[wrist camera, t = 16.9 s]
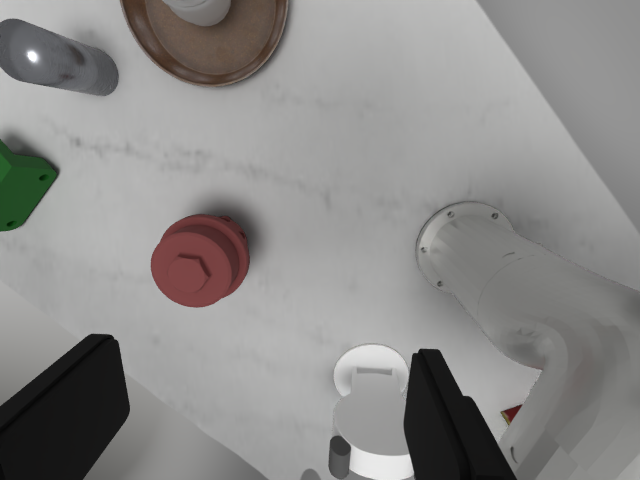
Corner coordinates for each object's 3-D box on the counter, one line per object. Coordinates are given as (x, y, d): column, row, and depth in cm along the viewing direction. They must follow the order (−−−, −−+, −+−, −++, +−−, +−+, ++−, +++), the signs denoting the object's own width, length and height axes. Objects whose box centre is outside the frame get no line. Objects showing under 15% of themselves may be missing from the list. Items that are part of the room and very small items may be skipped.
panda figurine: (327, 402, 52) (326, 503, 37) (331, 341, 48) (332, 426, 34) (403, 407, 52) (431, 510, 37) (412, 345, 48) (447, 432, 34)
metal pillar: (114, 49, 38) (41, 19, 28) (121, 96, 39) (54, 82, 30) (72, 48, 38) (-15, 17, 28) (80, 95, 39) (0, 81, 30)
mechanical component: (187, 268, 46) (188, 197, 43) (258, 278, 46) (264, 208, 43) (137, 312, 34) (134, 220, 31) (233, 326, 34) (239, 235, 31)
